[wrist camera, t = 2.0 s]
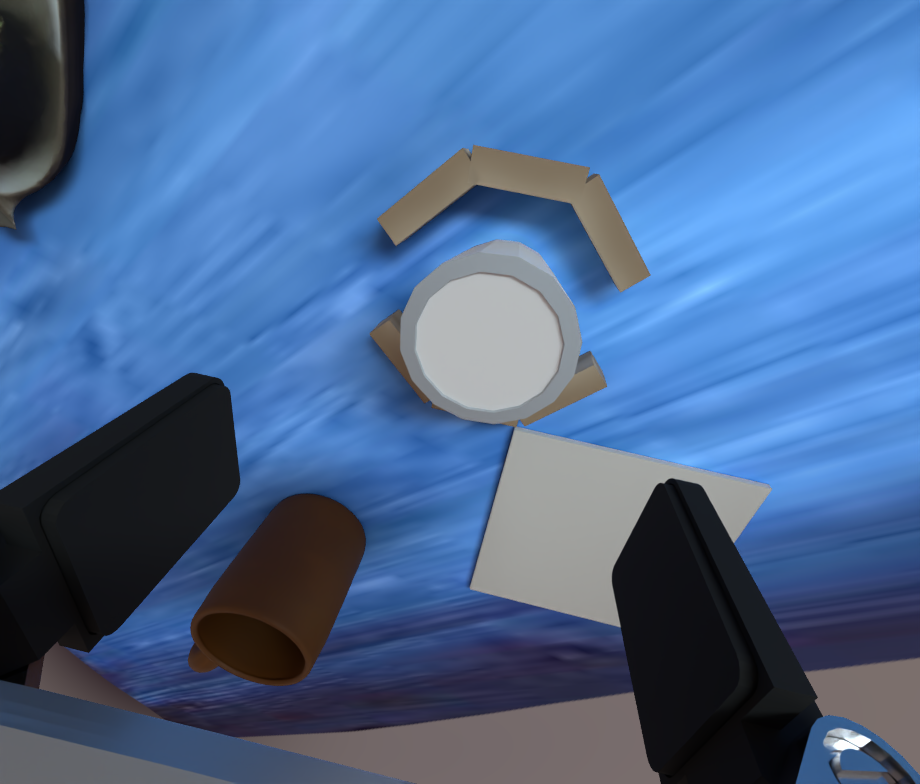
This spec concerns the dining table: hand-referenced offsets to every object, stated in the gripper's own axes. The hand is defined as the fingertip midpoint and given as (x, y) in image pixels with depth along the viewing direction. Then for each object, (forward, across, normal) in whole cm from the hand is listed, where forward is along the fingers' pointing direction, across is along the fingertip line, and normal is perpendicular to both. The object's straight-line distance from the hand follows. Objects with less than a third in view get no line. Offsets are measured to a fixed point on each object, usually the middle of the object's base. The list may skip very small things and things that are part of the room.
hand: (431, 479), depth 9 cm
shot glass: (+15, -1, 0) cm, 15 cm away
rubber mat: (+14, -11, +15) cm, 23 cm away
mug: (+15, +10, +22) cm, 28 cm away
